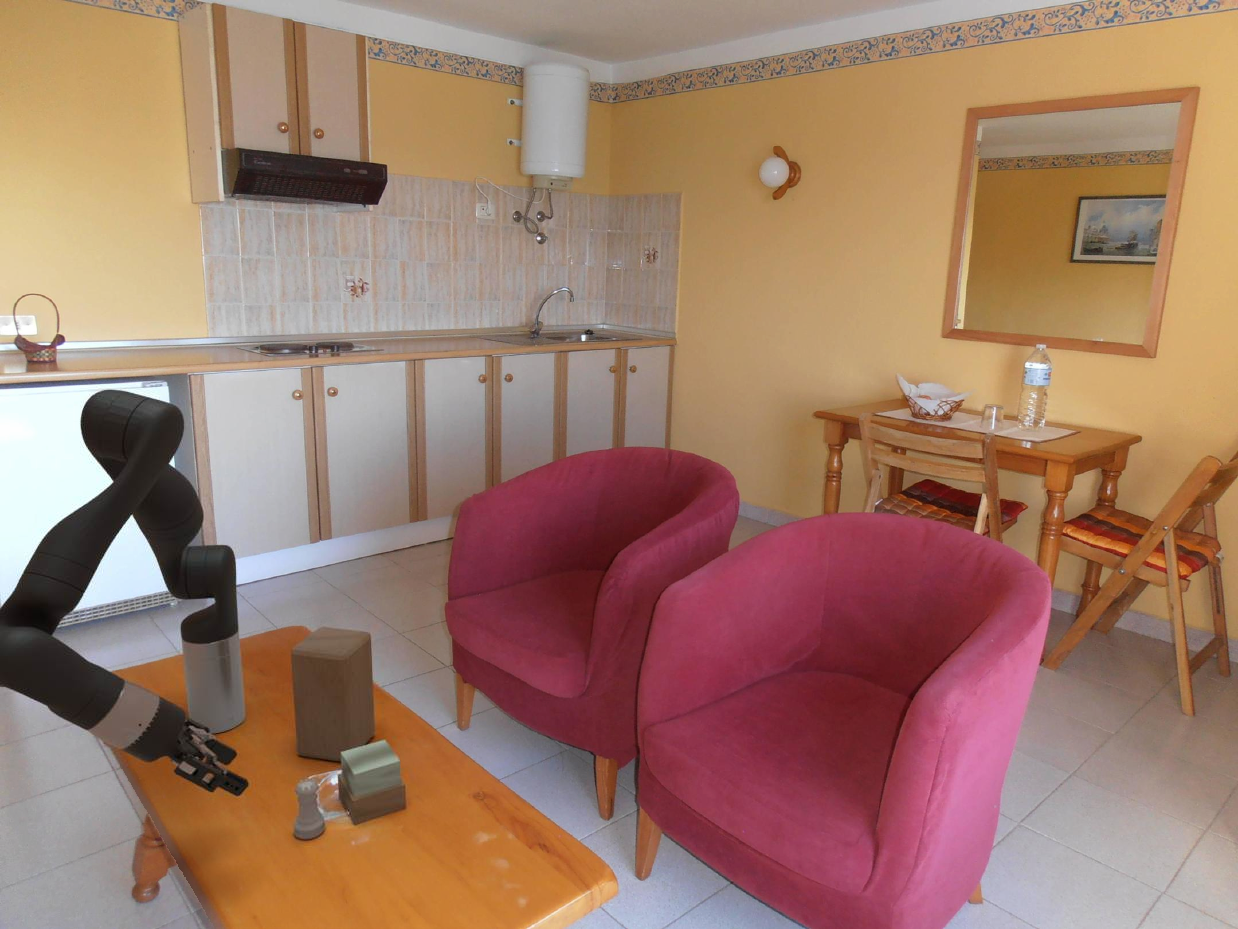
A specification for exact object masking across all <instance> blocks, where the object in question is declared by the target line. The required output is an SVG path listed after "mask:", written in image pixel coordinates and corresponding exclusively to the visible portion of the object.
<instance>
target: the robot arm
mask: <svg viewBox="0 0 1238 929" xmlns="http://www.w3.org/2000/svg"><path fill="white" fill-rule="evenodd" d="M184 419H185V418H184V415H183V412H182V411H181V409H180V408H179V407H178V406H177V405H175V404H173V403H170V402H167V401H164V400H160V399H157V398H153V397H149V396H146V395H141V394H138V393H134V392H130V391H127V390H121V389H120V390H119V389H104V390H103V389H102V390H100V391H97V392H95V393H94V394H92V395H91V396H90V397H89V398H88V399H87V400H86V401H85V404H84V405H83V406H82V410H81V415H80V419H79V420H80V421H79V422H80V423H79V424H80V432H81V433H80V434H81V437H82V440H83V444H84V445H85V446H86V449H87V450H88V451H89V453H90V454H91V455H92V457H93V458H94V459H95V460H96V462H97V463H98V464H99V465H100V466H101V467H102V468H101V469H103V470H104V472H105V473H106V474H107V475H108V476H109V478H110V479H111V481H112V483H110V484H109V485H108V486H107V487H106V488H105V489H104V490H103V491H101V492H100V493H99V494H97V495H96V496H95V497H94V498H91V500H88V502H86V503H85V504H83V505H82V506H80V507H78V508H77V509H75V510H73V511H72V512H71V513H69V514H68V515H67V516H65V517H64V518H63V519H61V520H60V521H59V522H57V523H56V524H55V525H54V526H53V527H52V528H51V529H50V530H49V531H48V532H47V533H46V534H45V535H44V536H43V538H42V539H41V541H40V542H39V544H38V545H37V546H36V548H35V551H33V554H32V556H31V558H30V559H29V561H28V563H27V564H26V567H25V568H24V570H23V572H22V574H21V576H20V578H19V579H18V582H17V584H16V586H15V588H14V589H13V591H12V593H11V594H10V595H9V597H8V598H7V599H6V600H5V601H4V603H3V604H2V605H1V607H0V688H6V689H9V690H11V691H14V692H16V693H18V694H20V695H23V696H25V697H27V698H29V699H31V700H34V701H36V702H38V703H40V704H42V705H44V706H47V709H48V710H49V711H50V712H52V713H53V714H55V715H56V716H57V717H58V718H61V719H63V720H64V721H67V722H69V723H71V724H73V725H74V726H77V727H79V728H81V729H82V730H84V731H87V732H89V733H90V735H91V734H92V735H93V736H94V738H97V739H98V740H100V741H102V742H104V743H106V744H108V745H110V746H113V747H115V748H116V749H118V750H120V751H122V752H124V753H126V754H128V755H130V756H132V757H134V758H136V759H139V760H140V761H143V763H144V762H145V763H154V762H156V761H158V760H159V759H161V758H164V757H168V758H169V761H170V762H171V763H172V764H174V765H175V766H176V767H175V768H174V770H173V773H174V774H175V775H176V776H179V777H180V778H183V779H184V780H187V781H189V782H190V783H192V784H194V785H196V786H198V787H200V788H202V789H204V790H206V791H208V792H209V793H213V794H214V792H215V790H216V789H217V788H219V789H221V790H223V791H225V792H228V793H229V794H232V795H234V796H235V797H240V796H242V794H243V793H244V792H245V791H246V789H247V788H248V787H249V783H250V782H249V780H248V779H247V778H244V777H242V776H241V775H238V774H237V773H235V772H233V771H231V770H229V769H227V767H224V766H229V765H230V764H231V763H232V762H233V761H234V760H235V759H236V757H237V755H238V753H237V750H236V749H234V748H232V747H231V746H229V745H227V744H225V743H223V742H221V741H220V740H218V739H217V737H216V736H215V735H214V734H218V733H223V732H227V731H229V730H232V729H234V728H236V727H238V726H239V725H240V724H242V723H243V722H244V721H245V719H246V705H245V692H244V691H245V690H244V679H243V667H242V665H243V664H242V655H241V654H242V653H241V652H242V651H241V644H240V643H241V641H240V640H241V639H240V631H239V630H240V629H239V613H238V597H237V596H238V595H237V561H236V556H235V552H234V550H233V548H232V547H231V546H230V545H227V544H210V545H208V544H207V545H190V544H191V543H192V542H193V540H194V539H195V538H196V536H197V535H198V534H199V532H200V530H201V528H202V526H203V522H204V519H205V518H204V517H205V516H204V515H205V514H204V508H203V505H202V503H201V501H200V498H199V496H198V494H197V491H196V489H195V487H194V485H193V484H192V483H191V481H190V480H189V479H188V478H187V477H186V476H185V475H184V474H183V473H182V472H180V471H179V470H178V469H177V468H175V467H174V466H173V465H172V464H170V462H172V460H173V458H174V456H175V455H176V453H177V451H178V449H179V447H180V445H181V442H182V440H183V436H184V433H185V432H184V430H185V420H184ZM131 517H132V518H133V519H134V521H135V522H136V525H137V527H138V528H139V530H140V532H141V533H142V535H143V536H144V538H145V539H146V541H147V543H148V545H149V547H150V549H151V551H152V552H153V554H154V557H155V558H156V561H157V564H158V567H159V570H160V573H161V575H162V579H163V581H164V584H165V586H166V588H167V591H168V592H169V593H170V595H171V596H172V597H174V598H176V599H178V600H185V601H186V600H205V599H206V600H207V599H214V603H212V604H210V605H209V606H207V607H204V608H202V609H200V610H197V611H195V612H192V613H191V614H189V615H187V616H186V617H184V619H182V621H181V623H180V636H181V646H182V656H183V668H184V679H185V689H186V690H185V691H186V700H187V712H188V716H187V713H186V711H185V709H184V708H182V707H180V706H178V705H177V704H175V703H173V702H171V701H169V700H167V699H166V698H164V697H162V696H161V695H158V694H156V693H154V692H152V691H151V690H149V689H147V687H143V686H141V685H140V684H137V683H134V682H132V681H129V680H126V679H125V678H123V677H120V676H119V675H117V674H115V673H114V672H112V671H110V670H108V669H106V668H104V667H102V666H100V665H98V664H96V663H93V662H91V661H89V660H87V659H86V658H85V657H84V656H83V655H81V654H80V653H78V652H77V651H75V650H74V649H73V648H72V647H71V646H68V645H67V644H66V643H64V642H63V641H61V640H60V639H58V638H56V637H54V636H53V635H54V633H55V631H56V629H57V628H58V626H59V625H60V623H61V621H63V619H64V618H65V617H66V616H67V615H69V614H70V613H72V612H73V611H74V610H75V609H76V607H77V606H78V605H79V604H80V602H81V600H82V599H83V597H84V594H85V593H86V591H87V589H88V587H89V585H90V583H91V581H92V579H93V578H94V576H95V574H96V572H97V570H98V568H99V566H100V564H101V562H102V560H103V559H104V557H105V555H106V553H107V551H108V550H109V548H110V546H111V545H112V543H113V542H114V540H115V539H116V537H117V536H118V534H119V533H120V531H121V530H122V529H123V528H124V526H125V525H126V523H127V522H128V521H129V519H130V518H131ZM205 758H206V759H205ZM204 760H205V761H204ZM222 764H223V765H222ZM209 774H211V775H212V776H210V775H209Z"/></svg>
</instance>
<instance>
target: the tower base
mask: <svg viewBox="0 0 1238 929" xmlns="http://www.w3.org/2000/svg"><path fill="white" fill-rule="evenodd" d="M340 764H341V765H340V766H341V767H340V768H341V773H338V774H337V786H338V787H337V789H338V790H337V791H338V799H339V800H340V802H341V803H342V806H343V807H344V809H345V811H346V810H347V811H348V812H349V814H348V816H349V817H350V820H351V821H352V824H353V826H355V825H358V824H362V823H365V822H368V821H371V820H373V819H372V818H374V819H376V818H375V817H377V818H379V817H382V816H385V815H388V814H392V813H395V812H397V810H398V811H400V810H405V809H406V808H407V795H406V794H407V792H406V784H405V782H404V781H403V779H402V778H401V777H402V775H401V774H402V772H401V760H400V758H399V757H398V755H396V753H395V752H394V750H393V749H392V748H391V746H390V744H389V743H388V742H387V741H386V739H382V740H379V741H375V742H372V743H368V744H365V745H364V746H361V747H357V748H354V749H350V750H347V751H343V752H341V762H340ZM405 807H406V808H405ZM347 811H346V812H347ZM367 820H368V821H367Z"/></svg>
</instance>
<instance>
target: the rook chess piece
mask: <svg viewBox="0 0 1238 929" xmlns="http://www.w3.org/2000/svg"><path fill="white" fill-rule="evenodd" d="M319 788H320V787H319V784H318V783H317V781H316V780H315V779H314V778H311V779H310V778H309V777H307V778H306V777H305V780H303V779H301V780H299V782H297V786H296V788H295V790H294V793H296V795H297V796H298V797H297V800H296V801H297V803H298V813H297V815H296V819H295V820H294V822H293V834H294V836H295V837H297V839H298V838H299V840H304V841H305V840H312V839H314V838H317V837H318V836H320V835H322V833H323V832H324V830H325V828H326V823H325V817H324V815H323V814H322V813H321V812H320V810H319V807H318V803H317V799H318V794H317V792H318V790H319Z"/></svg>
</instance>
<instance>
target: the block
mask: <svg viewBox="0 0 1238 929" xmlns="http://www.w3.org/2000/svg"><path fill="white" fill-rule="evenodd" d="M372 650H373V649H372V635H371V633H370V632H369V631H368V632H367V631H365V630H364V631H362V630H354V629H347V628H345V629H344V628H337V627H327V626H321V627H318V628H317V629H316V630H315V631H313V632H312V633H310V634H309V635H308V636H307V637H304V638H303V639H302V640H301V641H300V642H298V643H297V644H295V645H293V647H292V648H291V650H290V651H291V652H290V656H291V657H290V660H291V661H290V662H291V663H290V664H291V675H292V689H293V690H292V691H293V705H294V706H293V707H294V721H295V722H294V723H295V738H296V739H295V740H296V752H297V754H298V755H300V756H302V757H308V758H314V759H319V760H320V759H322V760H327V761H334V762H340V763H341V752H343V751H347V750H350V749H354V748H357V747H361V746H364V745H367V743H368V742H369V741H370V740H371V739H372V738H373V737H374V735H375V732H376V726H375V705H374V703H375V702H374V700H375V699H374V676H373V675H374V674H373V651H372Z"/></svg>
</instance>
